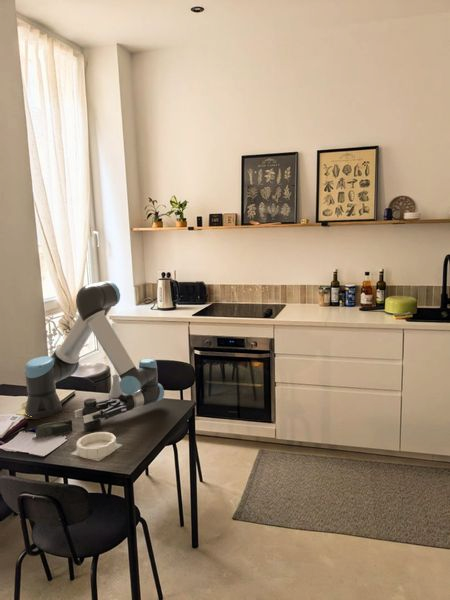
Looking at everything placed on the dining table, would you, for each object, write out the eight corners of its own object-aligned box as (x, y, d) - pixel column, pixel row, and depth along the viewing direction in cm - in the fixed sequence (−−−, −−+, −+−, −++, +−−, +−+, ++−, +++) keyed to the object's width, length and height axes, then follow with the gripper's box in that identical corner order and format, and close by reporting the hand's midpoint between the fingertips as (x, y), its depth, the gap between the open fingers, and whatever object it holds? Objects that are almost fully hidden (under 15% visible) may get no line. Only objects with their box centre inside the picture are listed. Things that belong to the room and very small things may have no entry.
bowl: (69, 453, 168) (68, 444, 167) (95, 438, 179) (95, 429, 179) (98, 461, 161) (97, 451, 161) (123, 444, 173) (122, 435, 173)
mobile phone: (71, 418, 188) (31, 425, 182) (72, 421, 186) (31, 428, 179) (72, 430, 189) (32, 437, 183) (73, 432, 186) (32, 440, 180)
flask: (116, 399, 220) (114, 378, 219) (106, 396, 225) (104, 376, 223) (127, 394, 226) (126, 374, 224) (118, 391, 230) (116, 372, 229)
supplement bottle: (94, 423, 193) (92, 395, 191) (105, 428, 189) (102, 399, 187) (80, 429, 188) (77, 401, 186) (90, 434, 183) (88, 405, 181)
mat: (70, 454, 168) (70, 453, 168) (95, 439, 179) (95, 438, 179) (98, 462, 162) (98, 461, 162) (122, 445, 173) (122, 444, 173)
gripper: (144, 415, 193) (92, 433, 177) (119, 403, 207) (69, 418, 192) (143, 398, 191) (90, 414, 176) (117, 386, 206) (67, 401, 190)
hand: (79, 416), depth 184 cm, fingers closed on supplement bottle, 7 cm apart
